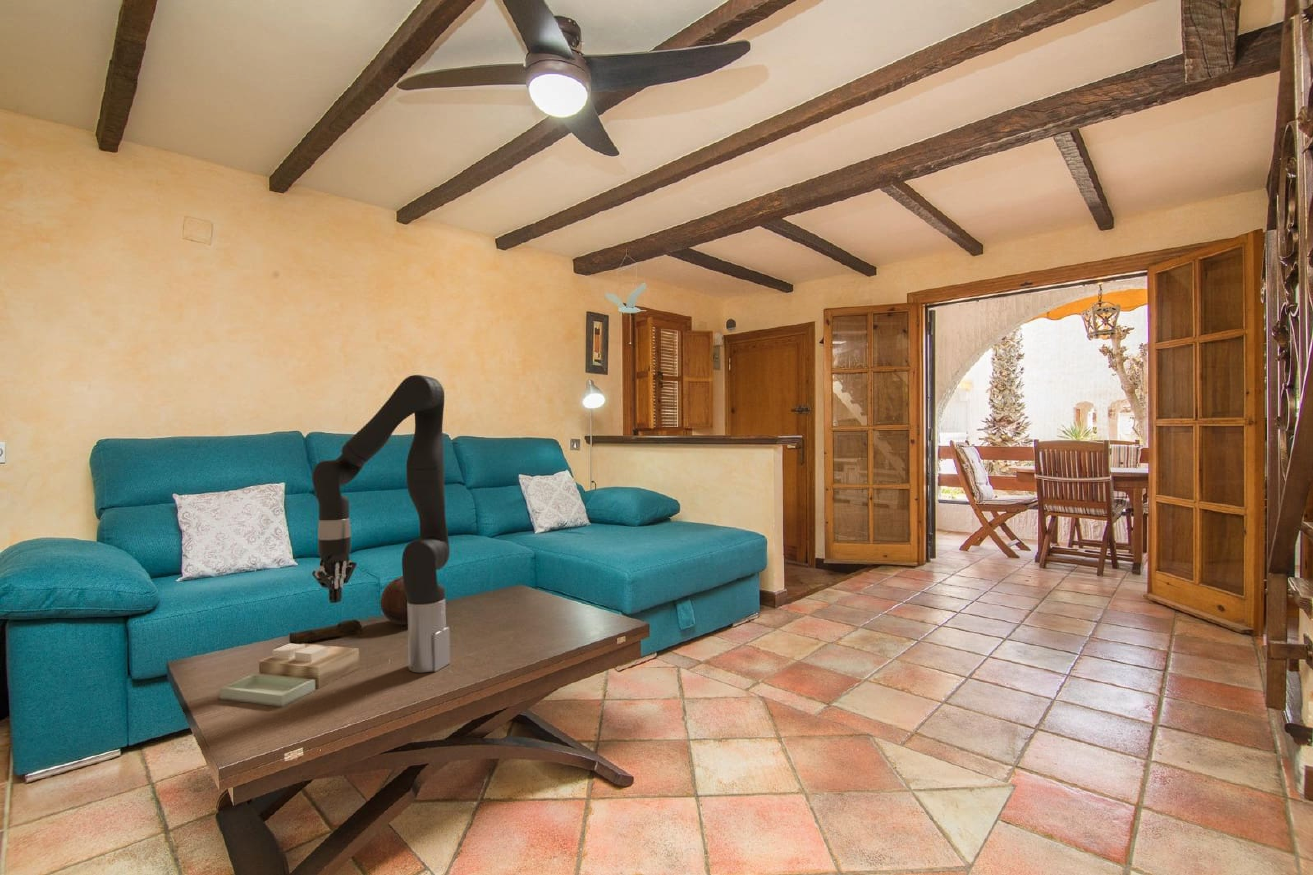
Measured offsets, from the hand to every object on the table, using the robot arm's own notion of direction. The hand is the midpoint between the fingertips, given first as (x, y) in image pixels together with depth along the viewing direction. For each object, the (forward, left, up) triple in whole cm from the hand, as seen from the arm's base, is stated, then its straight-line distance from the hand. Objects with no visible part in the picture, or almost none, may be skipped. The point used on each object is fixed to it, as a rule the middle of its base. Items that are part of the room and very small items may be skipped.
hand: (335, 602), depth 158 cm
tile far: (+7, +8, -12) cm, 16 cm away
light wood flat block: (+2, +6, -17) cm, 18 cm away
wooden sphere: (+6, -35, -17) cm, 39 cm away
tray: (+2, +18, -17) cm, 25 cm away
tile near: (0, +8, -12) cm, 14 cm away
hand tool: (+20, -17, -17) cm, 31 cm away
